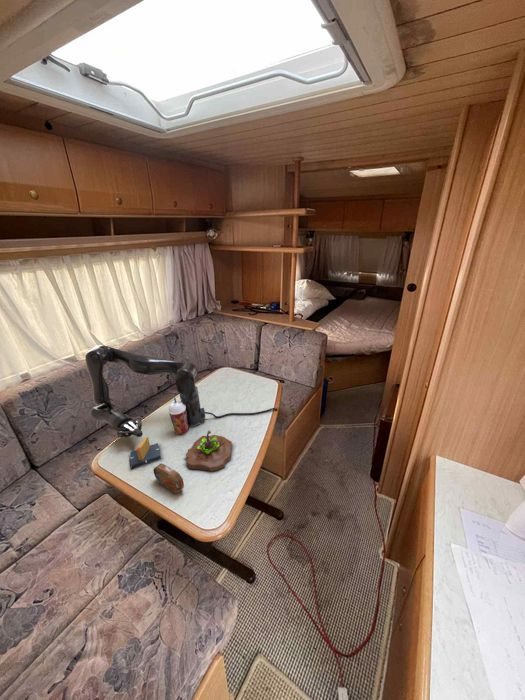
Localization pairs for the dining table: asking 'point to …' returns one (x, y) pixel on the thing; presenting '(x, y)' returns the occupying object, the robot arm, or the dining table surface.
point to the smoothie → (178, 416)
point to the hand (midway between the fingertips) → (140, 434)
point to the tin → (168, 478)
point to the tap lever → (143, 448)
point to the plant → (209, 453)
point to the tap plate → (150, 456)
